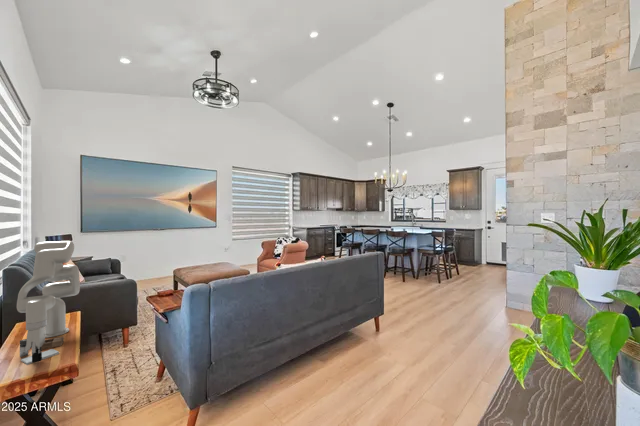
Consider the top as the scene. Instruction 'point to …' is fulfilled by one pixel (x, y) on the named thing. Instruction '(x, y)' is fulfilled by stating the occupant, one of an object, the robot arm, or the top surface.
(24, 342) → the metal cylinder
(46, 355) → the hard drive
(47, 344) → the block with rectangular opening
